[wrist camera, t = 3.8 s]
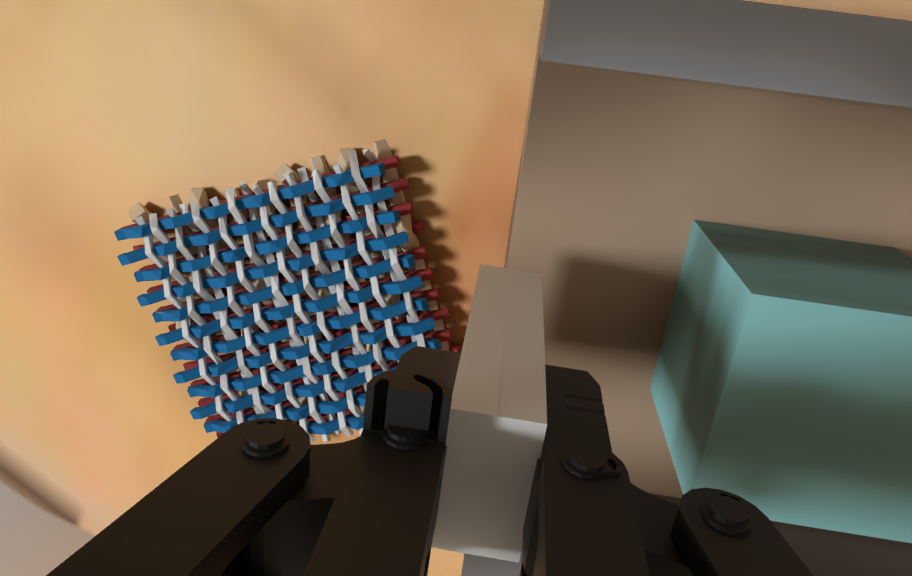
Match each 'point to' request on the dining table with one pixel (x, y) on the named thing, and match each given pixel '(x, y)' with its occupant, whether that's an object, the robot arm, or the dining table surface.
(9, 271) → the dining table surface
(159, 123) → the dining table surface
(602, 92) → the track
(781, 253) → the block
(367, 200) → the woven mat
